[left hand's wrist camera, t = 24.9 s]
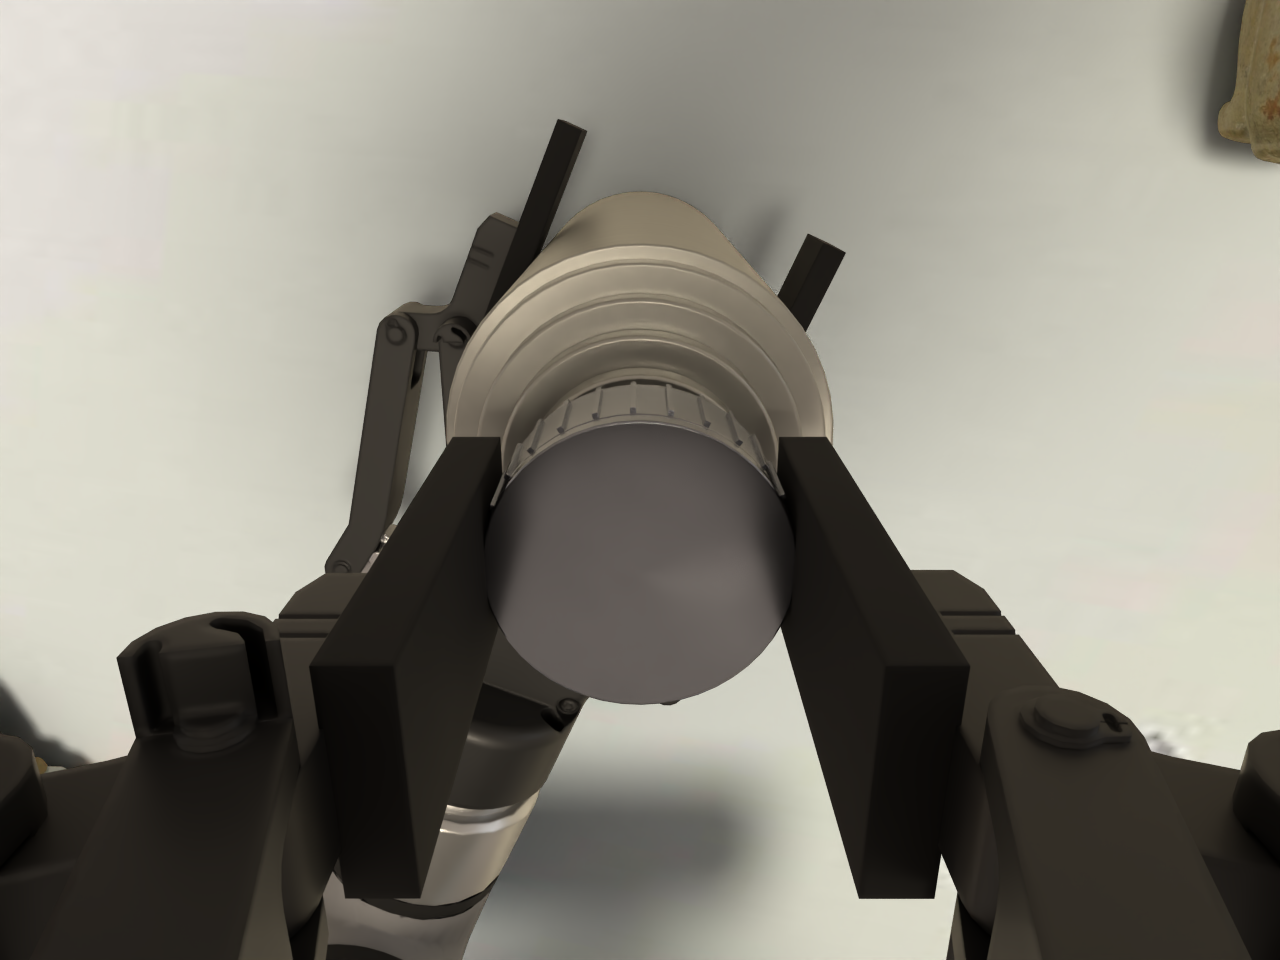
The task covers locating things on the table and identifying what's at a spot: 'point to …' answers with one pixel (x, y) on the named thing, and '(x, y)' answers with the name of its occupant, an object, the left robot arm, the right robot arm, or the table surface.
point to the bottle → (639, 329)
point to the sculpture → (1256, 83)
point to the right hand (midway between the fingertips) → (702, 186)
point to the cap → (639, 546)
